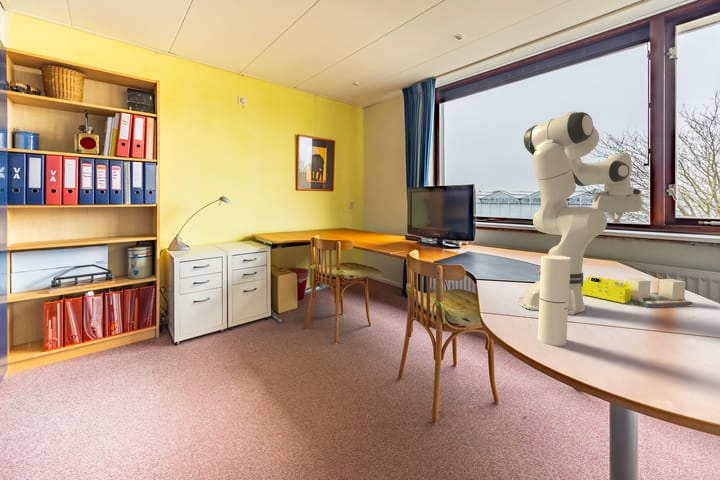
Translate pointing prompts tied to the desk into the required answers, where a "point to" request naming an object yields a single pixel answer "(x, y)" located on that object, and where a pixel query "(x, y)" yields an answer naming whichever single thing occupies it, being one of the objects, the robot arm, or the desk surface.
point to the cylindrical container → (554, 299)
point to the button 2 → (672, 289)
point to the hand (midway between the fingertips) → (614, 222)
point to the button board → (658, 301)
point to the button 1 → (639, 287)
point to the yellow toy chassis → (607, 289)
